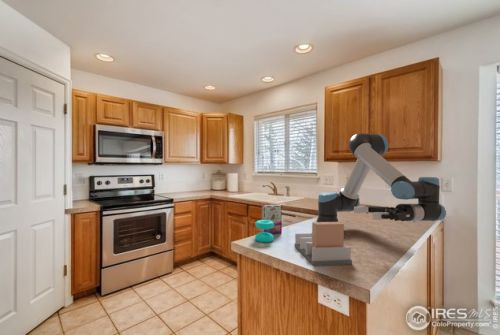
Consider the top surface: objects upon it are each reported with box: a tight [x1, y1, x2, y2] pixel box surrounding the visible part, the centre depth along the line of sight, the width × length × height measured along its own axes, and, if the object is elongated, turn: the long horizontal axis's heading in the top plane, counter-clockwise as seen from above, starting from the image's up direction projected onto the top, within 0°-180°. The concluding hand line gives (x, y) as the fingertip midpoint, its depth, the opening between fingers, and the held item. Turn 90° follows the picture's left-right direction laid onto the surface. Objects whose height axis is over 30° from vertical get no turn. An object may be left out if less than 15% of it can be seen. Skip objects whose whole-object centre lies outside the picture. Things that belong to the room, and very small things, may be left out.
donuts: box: [254, 219, 275, 243], centre depth 126 cm, size 10×10×10 cm
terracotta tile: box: [311, 221, 345, 248], centre depth 99 cm, size 4×12×14 cm, turn 98°
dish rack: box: [294, 232, 353, 267], centre depth 106 cm, size 24×16×6 cm, turn 7°
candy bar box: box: [261, 204, 283, 235], centre depth 141 cm, size 11×5×16 cm, turn 105°
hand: (363, 212), depth 102 cm, fingers open, 13 cm apart
